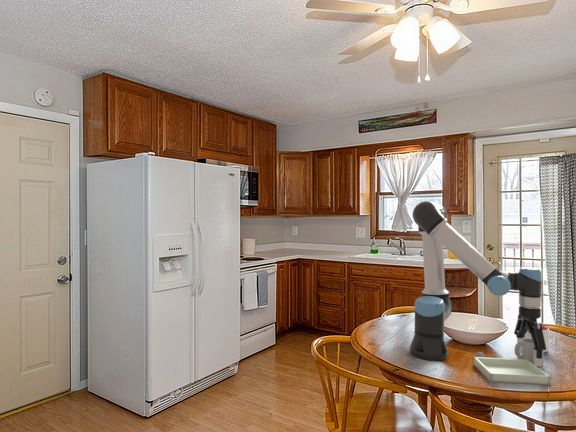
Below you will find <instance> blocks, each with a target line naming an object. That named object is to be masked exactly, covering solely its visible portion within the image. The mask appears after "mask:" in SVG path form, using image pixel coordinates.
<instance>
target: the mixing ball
mask: <svg viewBox="0 0 576 432" xmlns="http://www.w3.org/2000/svg"><path fill="white" fill-rule="evenodd" d="M474 357H486V355H485V354H484V352H482V351H479V352H476V353H475V355H474Z"/></svg>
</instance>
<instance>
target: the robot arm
mask: <svg viewBox="0 0 576 432" xmlns="http://www.w3.org/2000/svg"><path fill="white" fill-rule="evenodd" d="M447 214H448V213H447V211H446V208H445V207H444V206H443V205H442V204H441V203H439V202H436V201H428V200H426V201H421V202H419V203H417V204H416V205H415V207H414V208H413V211H412V219H413V221H414V223H415V224H416V225H417V227H418V228H417V229H418V230H417V231H418V233H419V234H420V235H421V237H422V258H423V273H424V289H423V290H422V291H421V296H420V297H417V298H416V299H415V302H414V333H413V337H412V340H411V343H410V345H409V353H410V354H411V355H412V356H413V357H415V358H418V359H420V360H421V359H422V360H426V361H434V362H435V361H444V360H447V359H448V357H449V350H448V347H447V344H446V341H445V337H444V336H445V334H444V333H445V321H446V320H447V319H448V318H450V316H451V314H452V312H453V311H452V310H453V305H452V303H451V299H450V291H449V290H448V289H447V288H446V282H445V281H446V279H445V263H444V258H445V257H444V247H445V248H446V249H447V250H448V251H449V252H450V253H451V254H452V255H454V257H456V259H458V260H459V261H460V263H462V264H463V265H464V266H465V267H467V269H468V270H469V271H470V272H471V273H473V274H474V275H475V276H476V277H477V278H478V279H479V280H480V281H481V282H482V283H483V284H484V285H485V286H486V287H487V289H488V290H489V292H491V294H492V295H494V296H499V297H500V296H505V295H506V294H508V293H510V291H515V292H516V291H518V293H519V294H518V305H519V306H518V314H517V321H516V325H515V328H514V332H513V334H514V335H515V336H516V344H517V343H519V342H523V339H524V338H525V334H526V332H527V330H528V332H529V333H530V334H531V337H532V340H533V343H534V346H535V348H534V362H533V364H534V365H535V366H539V367H543V366H542V350H546V345H545V340H544V336H543V331H542V326H543V324H542V322H538V321H537V320H538V319H540V318H541V315H542V314H541V313H542V309H541V307H542V304H541V303H542V301H543V300H542V270H540V269H539V268H536V267H520V268H519V270H518V271H509V270H499V269H498V268H497V267H496V266H495V265H494V264H493V263H492V262H490V261H489V260H488V259H487V258H486V257H485V256H484V255H483V254H482V253H480V252H479V250H477V249H476V248H475V247H474V246H473V245H472V244H471V243H469V242H468V241H467V240H466V239H465V238H464V237H463V236H462V235H461V234H460V233H458V232H457V230H455V229H454V228H453V227H452V226H451V225H450V224H449V223H448V219H447V217H448V216H447ZM519 353H520V355H522V346H520V348H519ZM539 367H538V368H539Z"/></svg>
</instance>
